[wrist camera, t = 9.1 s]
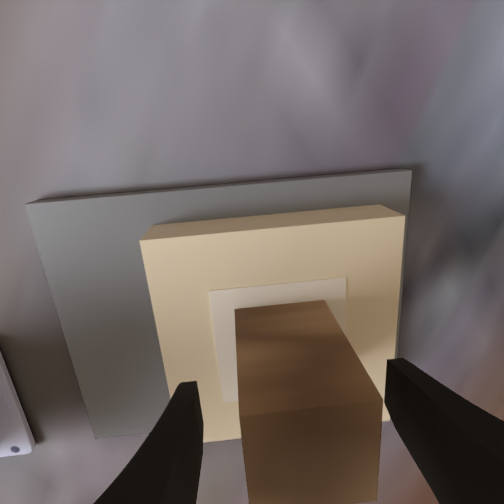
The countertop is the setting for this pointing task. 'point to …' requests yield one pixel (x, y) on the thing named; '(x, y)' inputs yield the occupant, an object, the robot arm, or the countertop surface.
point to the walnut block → (305, 408)
